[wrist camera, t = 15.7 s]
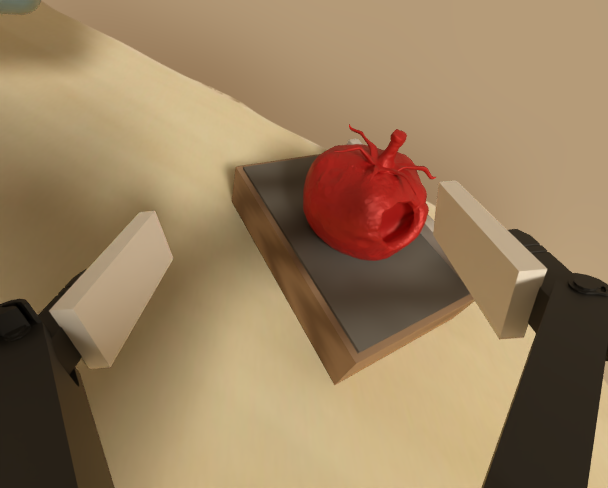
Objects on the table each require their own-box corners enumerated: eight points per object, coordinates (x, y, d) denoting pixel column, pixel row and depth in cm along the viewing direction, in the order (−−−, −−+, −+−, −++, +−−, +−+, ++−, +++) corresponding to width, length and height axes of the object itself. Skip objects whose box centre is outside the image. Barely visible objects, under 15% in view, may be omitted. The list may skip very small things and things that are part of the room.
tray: (231, 201, 34) (237, 154, 30) (340, 179, 41) (357, 138, 37) (334, 385, 25) (364, 355, 21) (452, 318, 32) (494, 285, 27)
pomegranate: (270, 229, 27) (297, 127, 20) (327, 173, 33) (362, 81, 26) (379, 298, 25) (449, 212, 18) (416, 225, 32) (479, 141, 25)
